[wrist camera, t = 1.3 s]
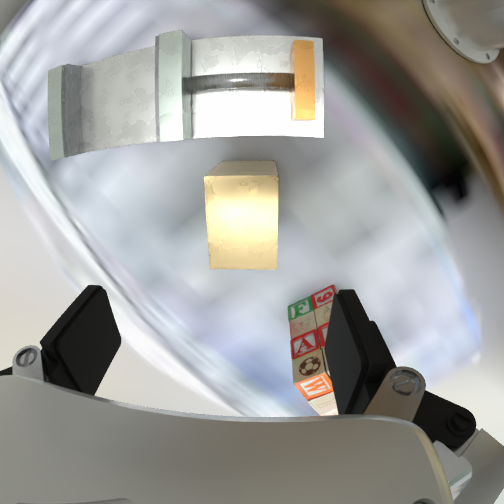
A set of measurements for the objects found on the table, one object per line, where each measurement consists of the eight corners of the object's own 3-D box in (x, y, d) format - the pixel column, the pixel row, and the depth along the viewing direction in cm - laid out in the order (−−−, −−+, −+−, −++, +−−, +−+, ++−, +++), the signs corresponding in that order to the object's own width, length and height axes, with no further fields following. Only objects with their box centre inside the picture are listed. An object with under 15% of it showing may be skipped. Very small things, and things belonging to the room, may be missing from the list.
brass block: (274, 160, 26) (278, 175, 18) (273, 227, 29) (276, 269, 21) (222, 161, 27) (203, 176, 18) (225, 227, 30) (210, 268, 21)
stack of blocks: (377, 377, 39) (397, 438, 28) (342, 392, 41) (355, 454, 30) (332, 282, 32) (360, 358, 21) (285, 305, 34) (292, 385, 22)
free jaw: (307, 36, 19) (312, 25, 17) (309, 136, 24) (314, 138, 21) (165, 43, 20) (154, 35, 17) (166, 140, 24) (155, 142, 21)
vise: (319, 42, 21) (329, 28, 17) (320, 137, 25) (331, 139, 21) (72, 74, 22) (48, 70, 18) (74, 154, 26) (51, 160, 22)
